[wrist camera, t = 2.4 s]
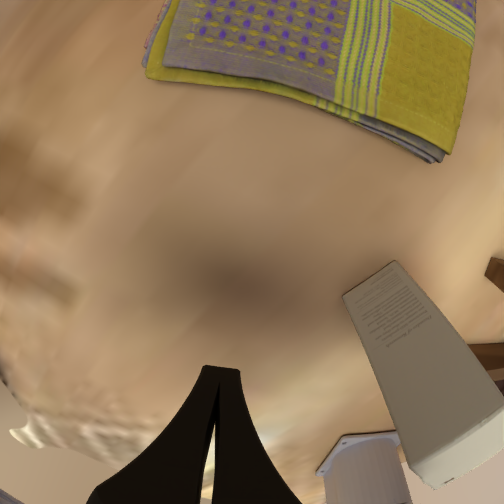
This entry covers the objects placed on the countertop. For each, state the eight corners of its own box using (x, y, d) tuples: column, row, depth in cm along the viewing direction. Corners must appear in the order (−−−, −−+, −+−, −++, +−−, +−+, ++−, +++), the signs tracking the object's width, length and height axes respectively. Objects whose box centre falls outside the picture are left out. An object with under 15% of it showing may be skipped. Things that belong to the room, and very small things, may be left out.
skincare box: (425, 316, 19) (506, 448, 8) (376, 348, 20) (432, 493, 9) (395, 254, 17) (512, 404, 6) (338, 294, 18) (404, 473, 7)
